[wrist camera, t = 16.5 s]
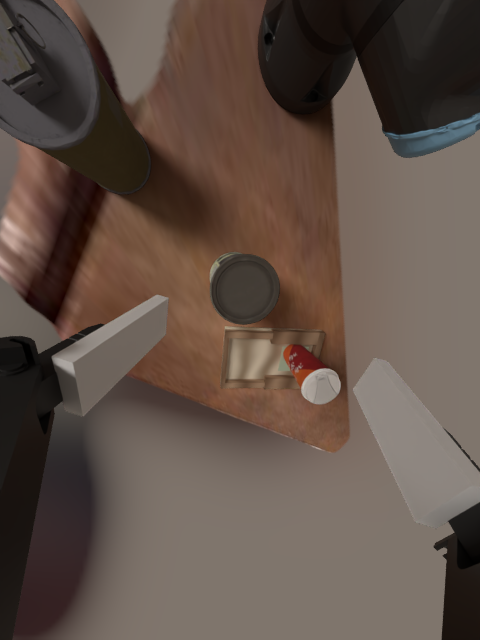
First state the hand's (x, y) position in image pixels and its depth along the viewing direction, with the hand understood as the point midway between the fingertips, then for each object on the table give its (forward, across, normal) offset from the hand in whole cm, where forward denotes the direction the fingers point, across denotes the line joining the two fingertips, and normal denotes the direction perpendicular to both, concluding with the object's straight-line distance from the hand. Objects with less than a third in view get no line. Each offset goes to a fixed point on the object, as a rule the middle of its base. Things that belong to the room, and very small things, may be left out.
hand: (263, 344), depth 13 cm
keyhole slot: (+31, +7, -22) cm, 39 cm away
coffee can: (+30, -7, -5) cm, 31 cm away
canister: (+26, -29, +10) cm, 41 cm away
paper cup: (+32, +12, -20) cm, 40 cm away
